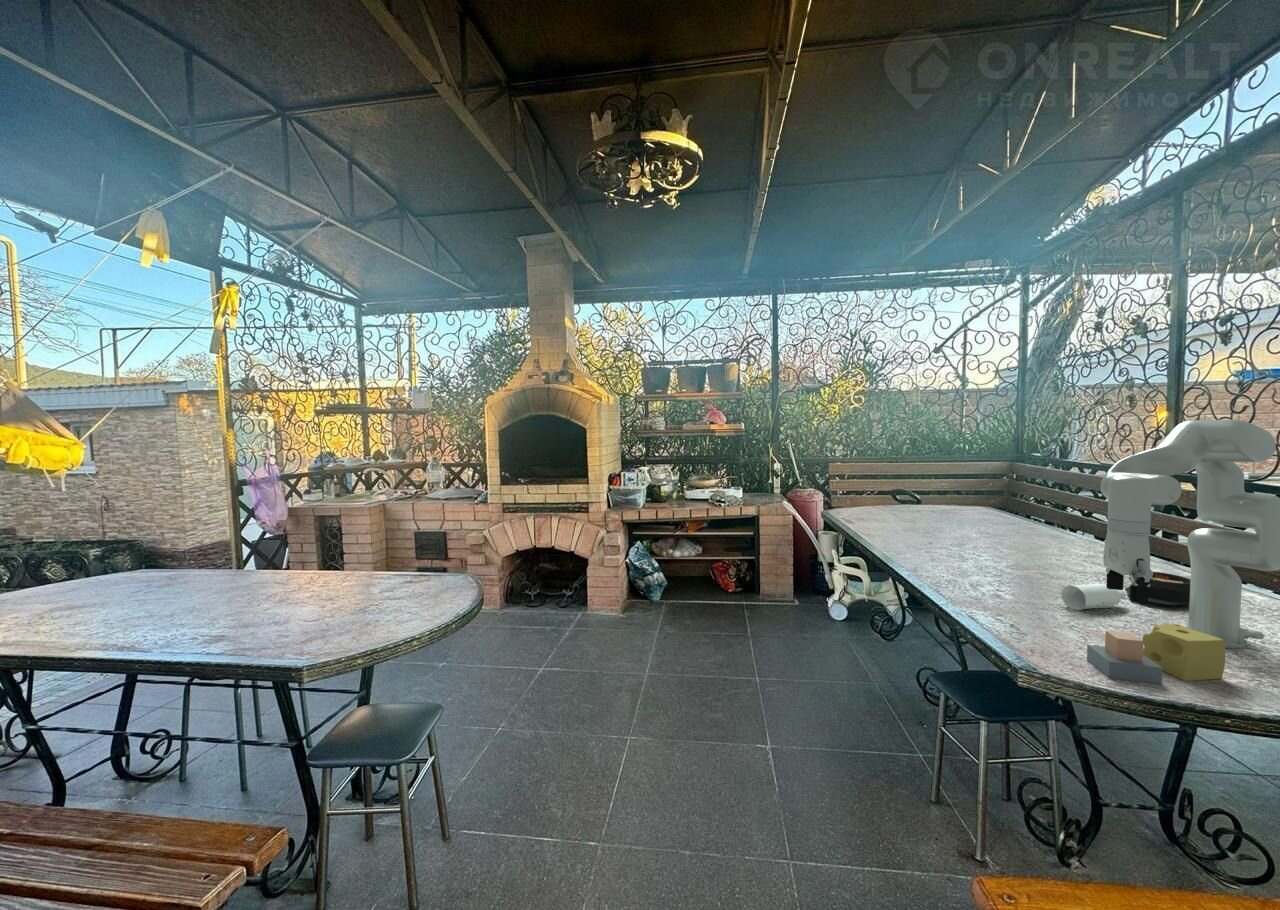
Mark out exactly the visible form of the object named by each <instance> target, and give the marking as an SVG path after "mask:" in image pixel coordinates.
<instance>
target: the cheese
mask: <svg viewBox="0 0 1280 910" xmlns="http://www.w3.org/2000/svg"><path fill="white" fill-rule="evenodd" d="M1187 627H1188V626H1184V625H1181V624H1178V623H1176V624H1175V623H1174V624H1172V623H1170V624H1169V623H1168V624H1165V623H1164V624H1156V625H1153V628H1152V631H1150V632H1149V633H1146V632H1145V633H1144V634H1143V635H1142V639H1141V640H1142V641H1143V655H1144V656H1146V657H1147V658H1149V659H1150V660H1152V661H1153V662H1155V663H1156V664H1158V665H1159V666H1161V667H1162V668H1163V670H1162V672H1164V673H1167V674H1168V675H1171V676H1173V677H1175V678H1177V677H1178V678H1177V679H1179V678H1180V680H1181V681H1184V682H1188V681H1189V682H1191V681H1205V680H1219V679H1222V680H1223V676H1224V672H1225V666H1226V665H1225V664H1226V647H1225V643H1224V640H1223V639H1220V638H1217V637H1214V636H1211V635H1208V634H1205V633H1201V632H1198V631H1195V630H1192V629H1189V628H1187Z"/></svg>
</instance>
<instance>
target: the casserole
mask: <svg viewBox="0 0 1280 910" xmlns="http://www.w3.org/2000/svg"><path fill="white" fill-rule="evenodd" d="M1133 573H1135V572H1133ZM1139 578H1140V577H1136V580H1138V579H1139ZM1128 580H1129V581H1130V585H1133V584H1132V582H1131V579H1130V577H1129V576H1128ZM1190 580H1191V578H1189V577H1185V576H1181V575H1177V574H1172V573H1166V572H1158V571H1153V576H1152V581H1151V583H1150V587H1149V589H1148V603H1154V604H1157V605H1158V604H1159V605H1164V606H1175V607H1177V606H1178V607H1179V606H1182V607H1183V606H1189V601H1190ZM1124 590H1125V592H1126V593H1127V596H1128V597H1130V586H1128V587H1126V588H1124Z"/></svg>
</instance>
